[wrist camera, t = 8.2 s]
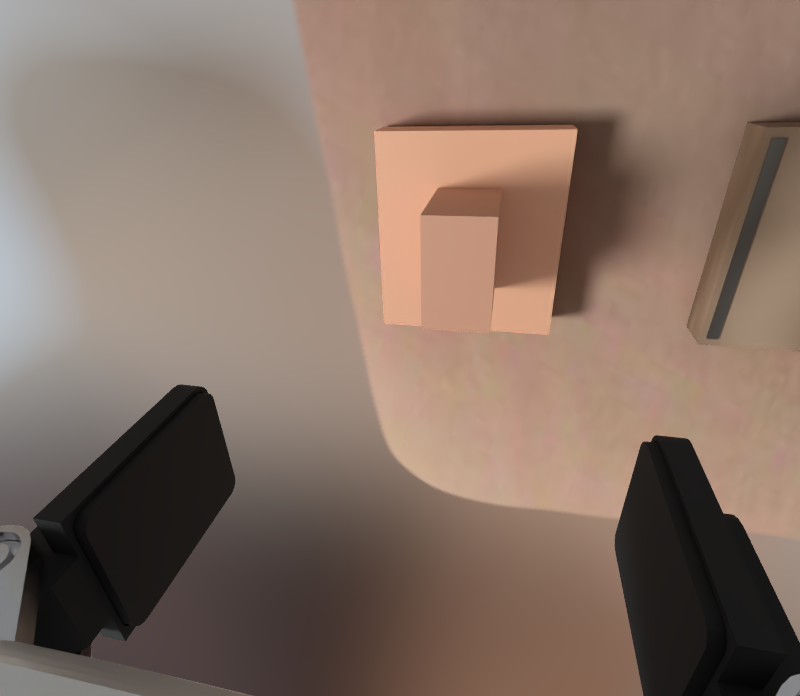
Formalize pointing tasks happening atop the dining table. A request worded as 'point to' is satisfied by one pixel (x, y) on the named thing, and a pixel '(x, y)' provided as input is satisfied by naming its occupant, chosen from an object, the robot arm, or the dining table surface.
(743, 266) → the board
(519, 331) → the stub
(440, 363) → the dining table surface
